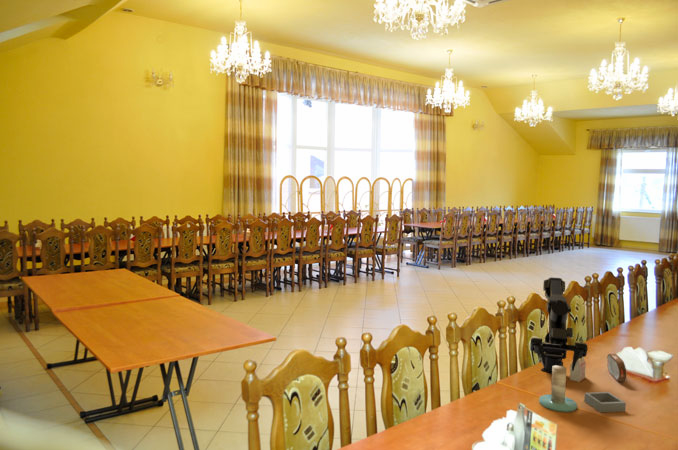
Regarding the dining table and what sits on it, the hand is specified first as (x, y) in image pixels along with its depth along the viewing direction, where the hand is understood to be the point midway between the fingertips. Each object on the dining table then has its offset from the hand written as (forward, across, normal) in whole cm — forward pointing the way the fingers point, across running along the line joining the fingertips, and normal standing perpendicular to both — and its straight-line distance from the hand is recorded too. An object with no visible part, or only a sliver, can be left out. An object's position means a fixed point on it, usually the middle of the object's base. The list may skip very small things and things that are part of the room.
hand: (558, 368), depth 177 cm
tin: (-14, +23, +31) cm, 41 cm away
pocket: (+8, +15, +8) cm, 19 cm away
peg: (+10, 0, +4) cm, 11 cm away
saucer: (+11, 0, +5) cm, 12 cm away
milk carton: (-9, +9, +26) cm, 29 cm away
